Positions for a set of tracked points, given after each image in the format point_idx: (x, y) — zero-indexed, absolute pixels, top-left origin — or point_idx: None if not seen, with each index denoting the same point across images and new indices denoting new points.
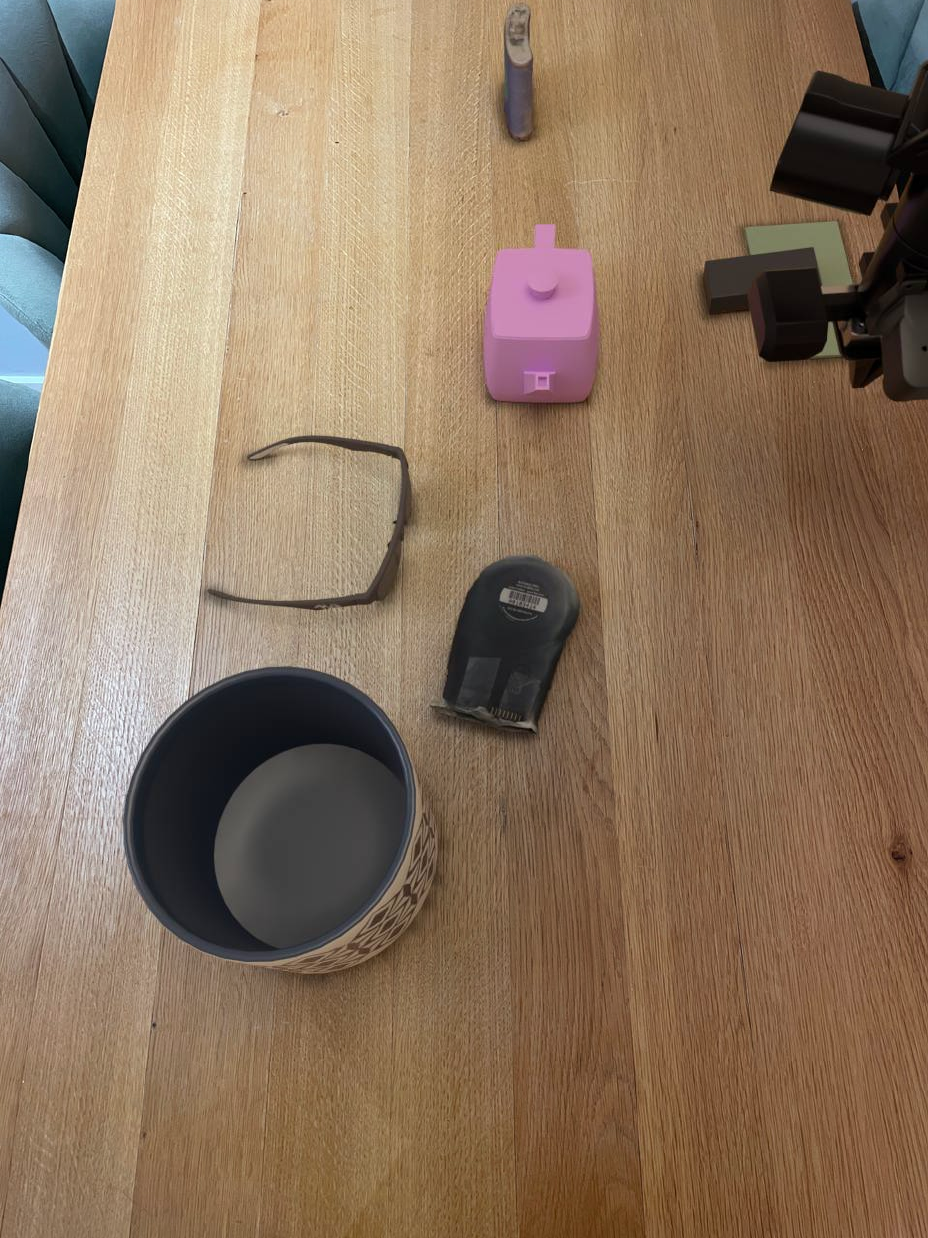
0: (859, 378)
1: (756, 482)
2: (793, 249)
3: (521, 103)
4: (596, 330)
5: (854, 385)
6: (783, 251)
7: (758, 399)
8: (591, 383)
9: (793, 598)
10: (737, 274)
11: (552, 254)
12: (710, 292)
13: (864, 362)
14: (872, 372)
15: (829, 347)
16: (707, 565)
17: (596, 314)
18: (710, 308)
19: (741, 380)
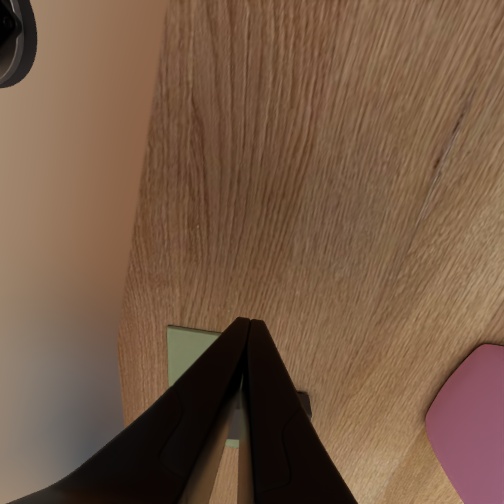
0: (265, 353)
1: (333, 209)
2: None
3: None
4: (498, 436)
5: (265, 329)
6: (229, 438)
7: (292, 305)
8: (496, 367)
9: (356, 5)
10: None
11: None
12: (310, 419)
13: (295, 453)
14: (234, 370)
15: (204, 341)
16: (456, 92)
17: (497, 457)
18: (309, 401)
19: (302, 328)
